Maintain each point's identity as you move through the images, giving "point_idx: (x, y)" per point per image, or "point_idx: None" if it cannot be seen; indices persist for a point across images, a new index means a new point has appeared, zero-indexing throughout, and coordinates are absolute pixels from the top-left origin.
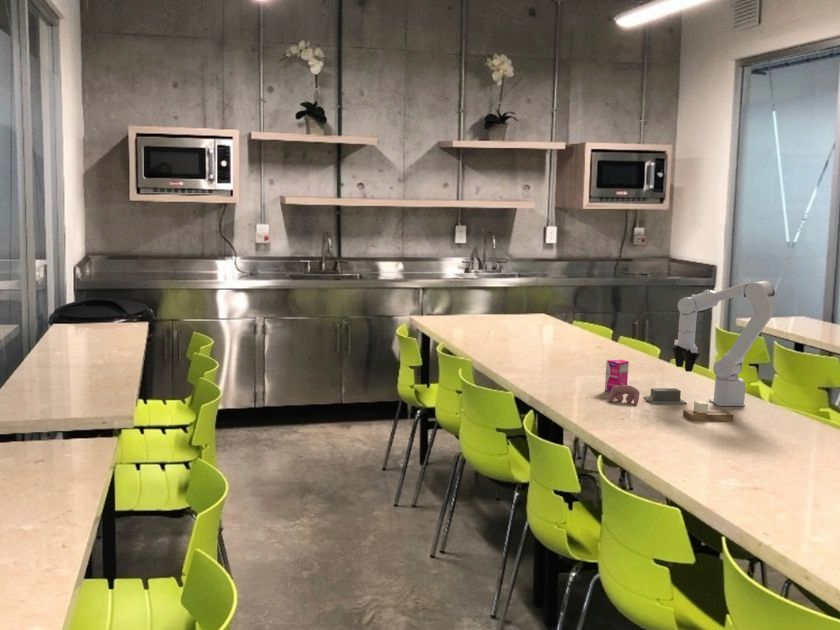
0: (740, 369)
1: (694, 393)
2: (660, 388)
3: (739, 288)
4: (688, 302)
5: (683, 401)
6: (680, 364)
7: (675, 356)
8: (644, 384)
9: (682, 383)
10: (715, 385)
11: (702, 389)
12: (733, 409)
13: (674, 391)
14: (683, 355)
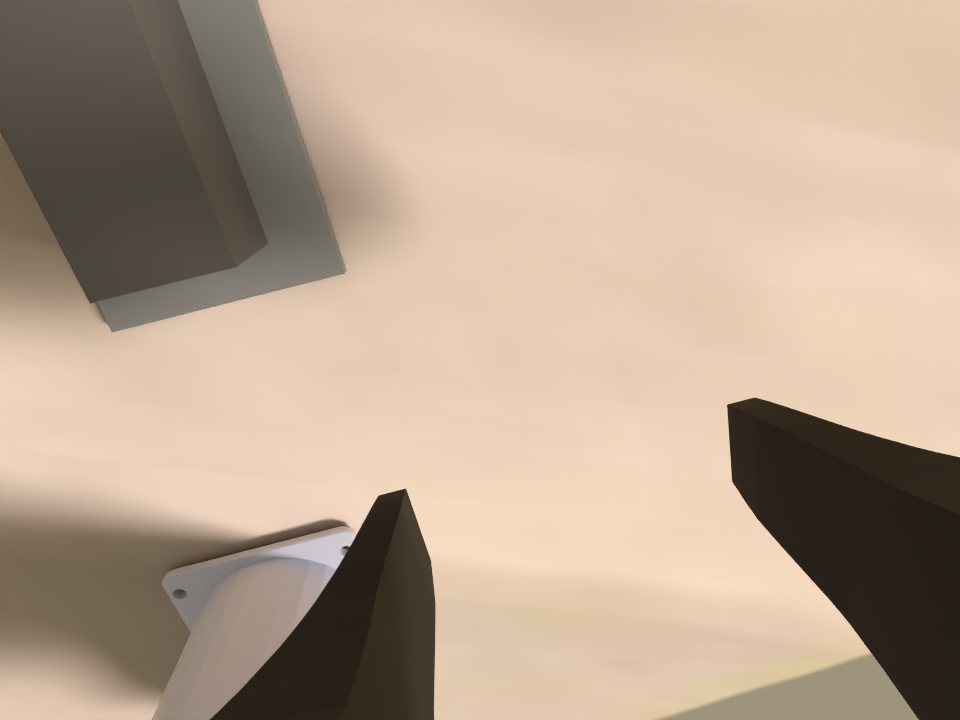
0: None
1: (595, 451)
2: (128, 29)
3: None
4: None
5: (149, 306)
6: (754, 474)
7: (886, 468)
8: (943, 6)
9: (955, 408)
10: (229, 683)
11: (746, 525)
12: (113, 646)
13: (47, 218)
14: (881, 635)
